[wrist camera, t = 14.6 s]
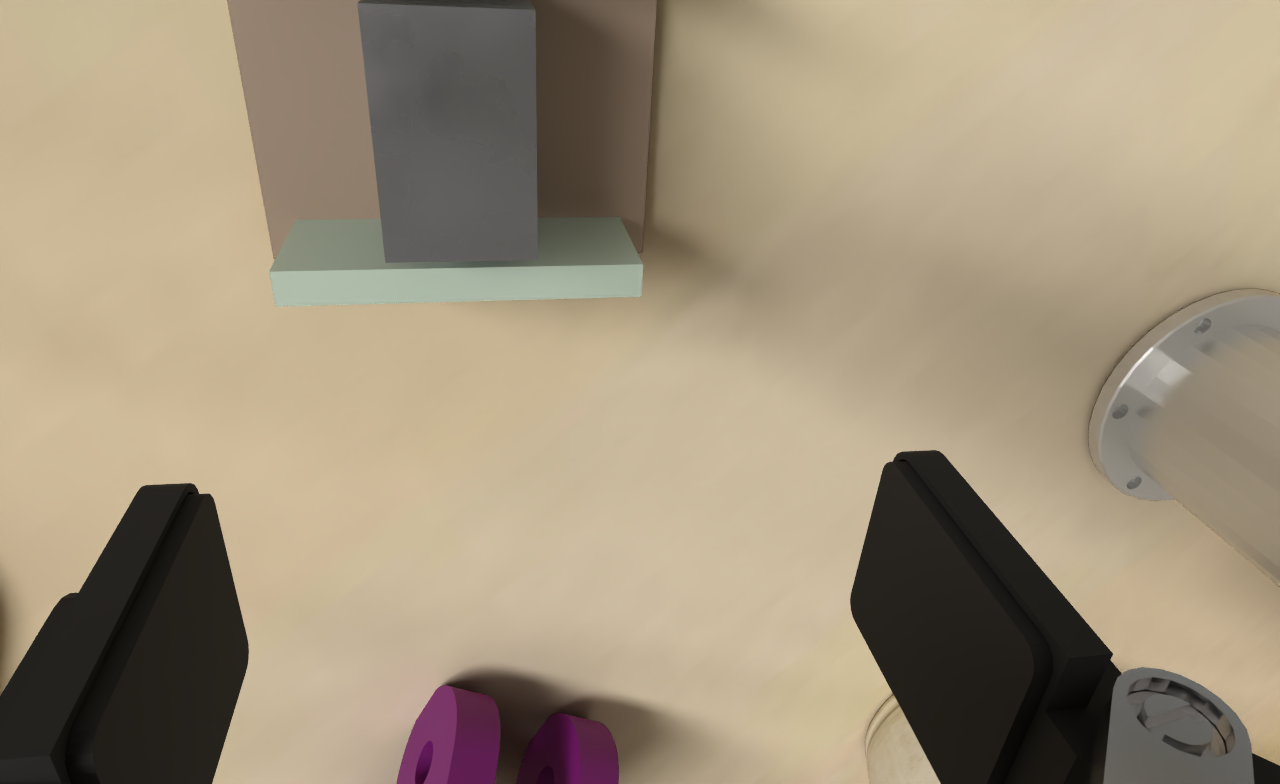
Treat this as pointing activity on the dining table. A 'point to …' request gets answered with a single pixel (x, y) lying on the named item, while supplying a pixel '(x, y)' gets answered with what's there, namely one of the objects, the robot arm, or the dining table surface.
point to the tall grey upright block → (453, 127)
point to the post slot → (345, 169)
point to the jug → (895, 750)
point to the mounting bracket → (470, 740)
